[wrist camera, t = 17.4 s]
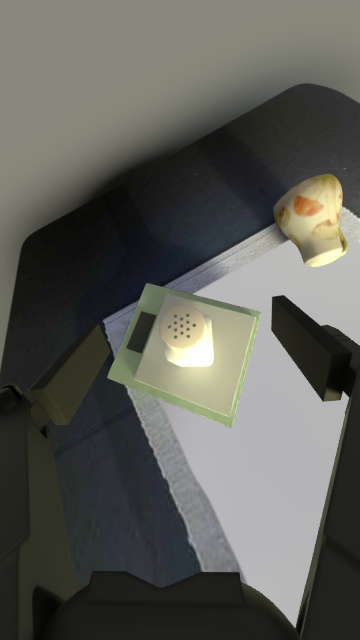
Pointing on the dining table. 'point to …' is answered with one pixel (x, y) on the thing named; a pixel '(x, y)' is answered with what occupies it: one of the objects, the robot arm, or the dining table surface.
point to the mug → (313, 219)
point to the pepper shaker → (187, 336)
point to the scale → (195, 381)
